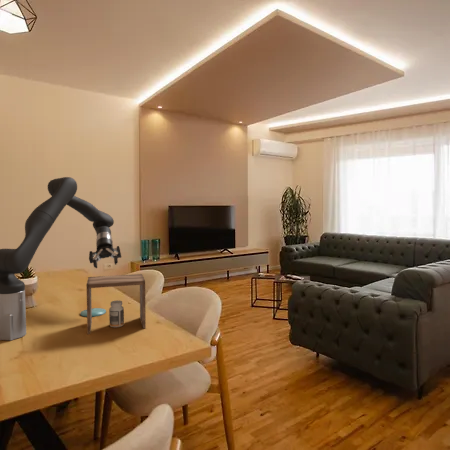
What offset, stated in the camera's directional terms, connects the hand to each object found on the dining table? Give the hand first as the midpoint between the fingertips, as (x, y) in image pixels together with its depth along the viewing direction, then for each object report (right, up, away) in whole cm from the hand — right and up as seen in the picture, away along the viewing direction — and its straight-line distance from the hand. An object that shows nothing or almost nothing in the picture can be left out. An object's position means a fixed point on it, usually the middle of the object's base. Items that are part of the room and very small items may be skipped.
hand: (105, 265), depth 161 cm
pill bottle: (+10, -23, -15) cm, 30 cm away
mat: (-6, -22, +1) cm, 23 cm away
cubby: (+10, -23, -15) cm, 29 cm away
